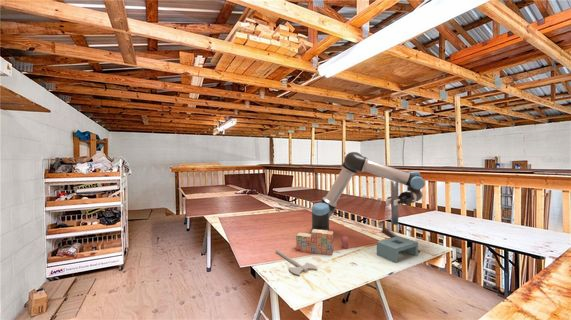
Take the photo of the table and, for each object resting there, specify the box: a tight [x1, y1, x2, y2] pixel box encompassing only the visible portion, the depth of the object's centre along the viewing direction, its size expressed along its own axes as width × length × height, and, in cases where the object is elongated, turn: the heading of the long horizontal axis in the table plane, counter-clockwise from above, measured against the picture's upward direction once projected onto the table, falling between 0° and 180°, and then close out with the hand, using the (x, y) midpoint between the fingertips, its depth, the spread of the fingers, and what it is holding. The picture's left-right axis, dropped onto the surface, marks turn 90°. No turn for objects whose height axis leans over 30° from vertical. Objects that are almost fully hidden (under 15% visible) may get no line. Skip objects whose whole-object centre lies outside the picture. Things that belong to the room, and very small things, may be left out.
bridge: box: [376, 235, 419, 263], centre depth 137 cm, size 20×12×8 cm, turn 120°
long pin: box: [390, 181, 399, 226], centre depth 137 cm, size 4×4×24 cm
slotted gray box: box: [381, 227, 421, 253], centre depth 161 cm, size 40×2×5 cm, turn 9°
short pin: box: [341, 235, 349, 249], centre depth 149 cm, size 4×4×6 cm
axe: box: [275, 249, 318, 276], centre depth 128 cm, size 30×14×2 cm, turn 32°
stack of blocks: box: [295, 229, 335, 256], centre depth 143 cm, size 21×6×12 cm, turn 71°
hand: (390, 202), depth 134 cm, fingers closed on long pin, 4 cm apart
